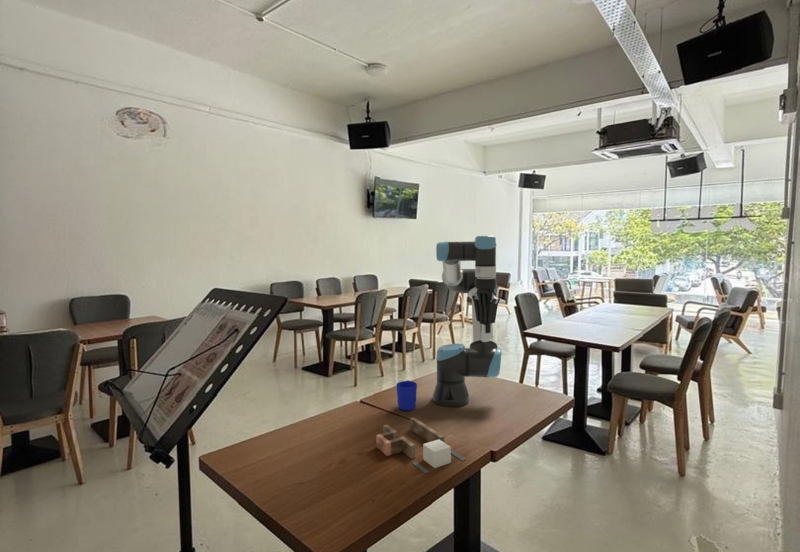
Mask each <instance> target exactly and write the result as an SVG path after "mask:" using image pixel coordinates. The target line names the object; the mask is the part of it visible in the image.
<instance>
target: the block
mask: <svg viewBox="0 0 800 552" xmlns="http://www.w3.org/2000/svg"><path fill="white" fill-rule="evenodd" d="M451 450H452V447H451V445H449V444H447V443H446V442H445V441H444V442H443V441H441V440H435V441H432V442H429V441H427V442H426V443H423V444H422V456H423V457H422V458H423V459H422V461H425V462H426V463H427V464H428V465H430V466H431V467H432V468H434V469H437V468H439V467H442V466H445V465H449V464H451V463H452V454H451Z"/></svg>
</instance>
